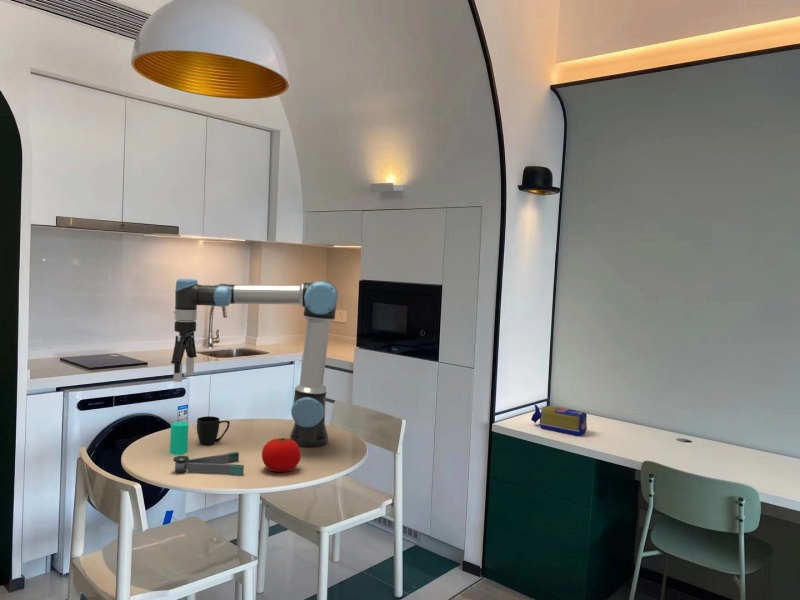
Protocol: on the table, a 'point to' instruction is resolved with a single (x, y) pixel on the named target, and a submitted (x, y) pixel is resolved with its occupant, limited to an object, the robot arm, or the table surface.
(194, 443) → the table surface
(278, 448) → the tomato
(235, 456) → the bar
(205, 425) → the mug
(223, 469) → the tongs fixed
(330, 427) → the table surface
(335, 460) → the table surface
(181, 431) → the candle
